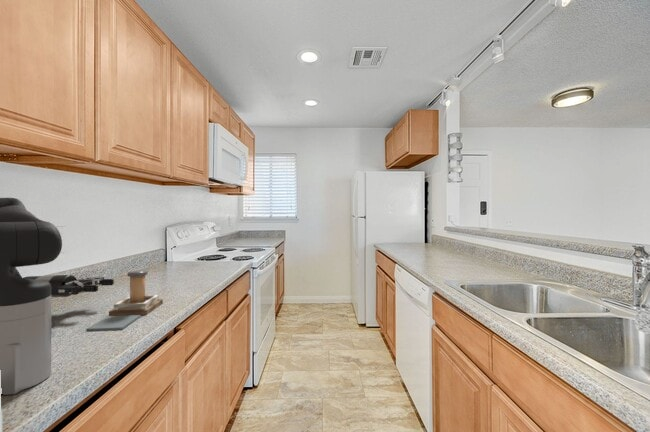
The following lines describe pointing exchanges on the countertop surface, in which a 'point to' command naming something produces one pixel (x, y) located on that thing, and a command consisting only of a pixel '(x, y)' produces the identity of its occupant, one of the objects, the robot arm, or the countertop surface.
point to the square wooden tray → (136, 306)
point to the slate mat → (114, 323)
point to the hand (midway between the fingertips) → (105, 285)
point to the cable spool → (137, 286)
